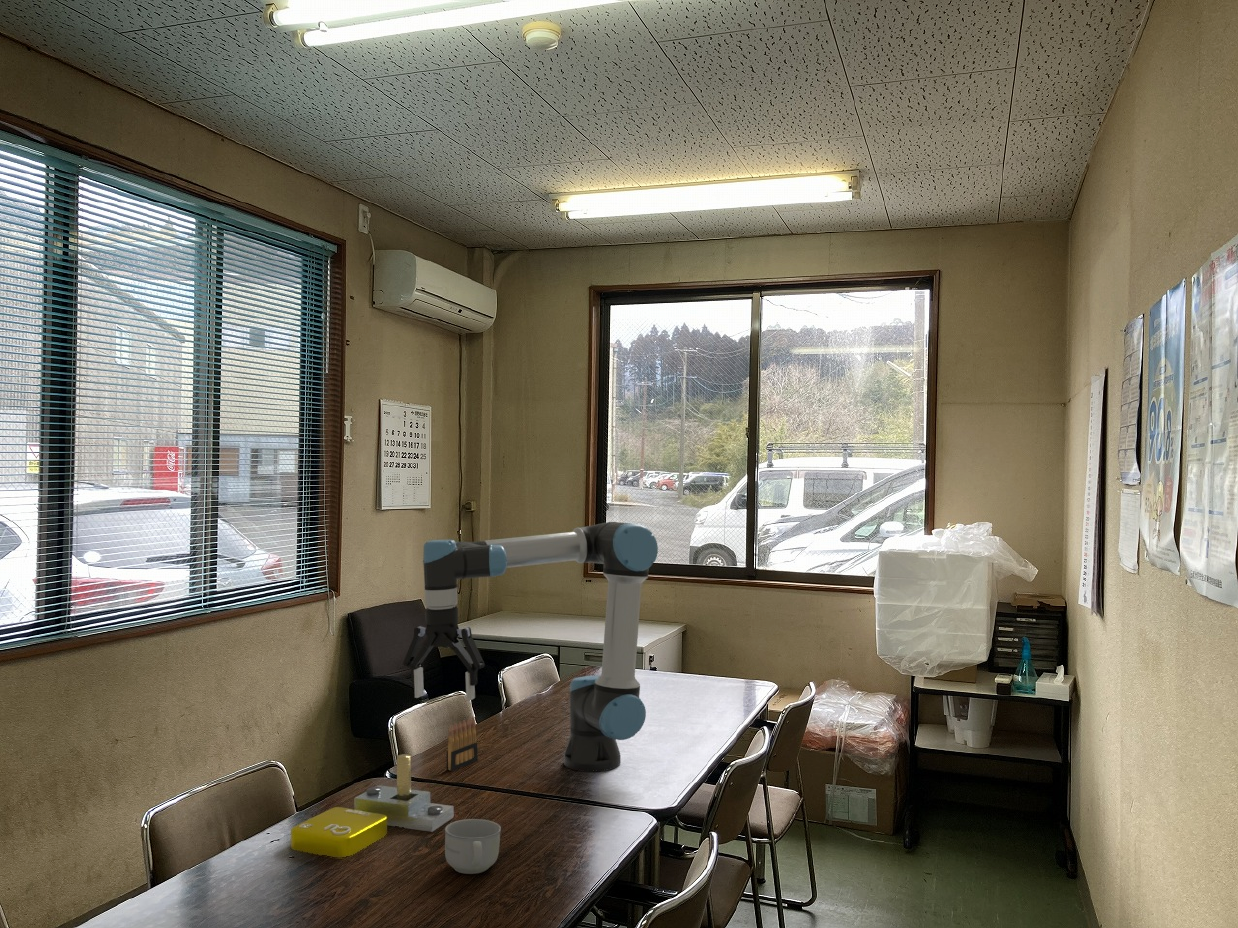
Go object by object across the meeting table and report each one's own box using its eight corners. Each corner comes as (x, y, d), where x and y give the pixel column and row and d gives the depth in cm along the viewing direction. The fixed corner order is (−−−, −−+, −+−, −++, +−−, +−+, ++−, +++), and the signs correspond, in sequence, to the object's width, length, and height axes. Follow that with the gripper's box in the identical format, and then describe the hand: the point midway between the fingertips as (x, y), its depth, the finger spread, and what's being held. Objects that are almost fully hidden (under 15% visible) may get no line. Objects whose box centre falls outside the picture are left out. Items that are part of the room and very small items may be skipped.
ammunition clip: (451, 771, 237) (451, 725, 238) (446, 770, 238) (446, 724, 239) (478, 760, 247) (477, 716, 247) (472, 759, 248) (472, 715, 248)
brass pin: (413, 817, 205) (413, 754, 206) (406, 821, 202) (405, 758, 203) (402, 815, 206) (401, 753, 207) (394, 820, 204) (394, 757, 204)
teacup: (448, 857, 183) (447, 817, 184) (502, 855, 184) (502, 815, 184) (440, 888, 170) (440, 845, 170) (499, 885, 170) (498, 842, 171)
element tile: (391, 834, 196) (391, 812, 196) (344, 861, 183) (344, 837, 183) (335, 824, 202) (335, 803, 202) (286, 850, 188) (286, 826, 188)
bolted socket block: (453, 817, 205) (453, 791, 205) (432, 831, 197) (432, 804, 197) (378, 806, 212) (378, 781, 212) (354, 820, 204) (354, 794, 204)
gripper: (497, 604, 212) (500, 696, 211) (404, 603, 220) (407, 691, 220) (481, 610, 204) (485, 704, 204) (386, 608, 213) (389, 699, 213)
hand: (444, 697), depth 212 cm, fingers open, 13 cm apart
